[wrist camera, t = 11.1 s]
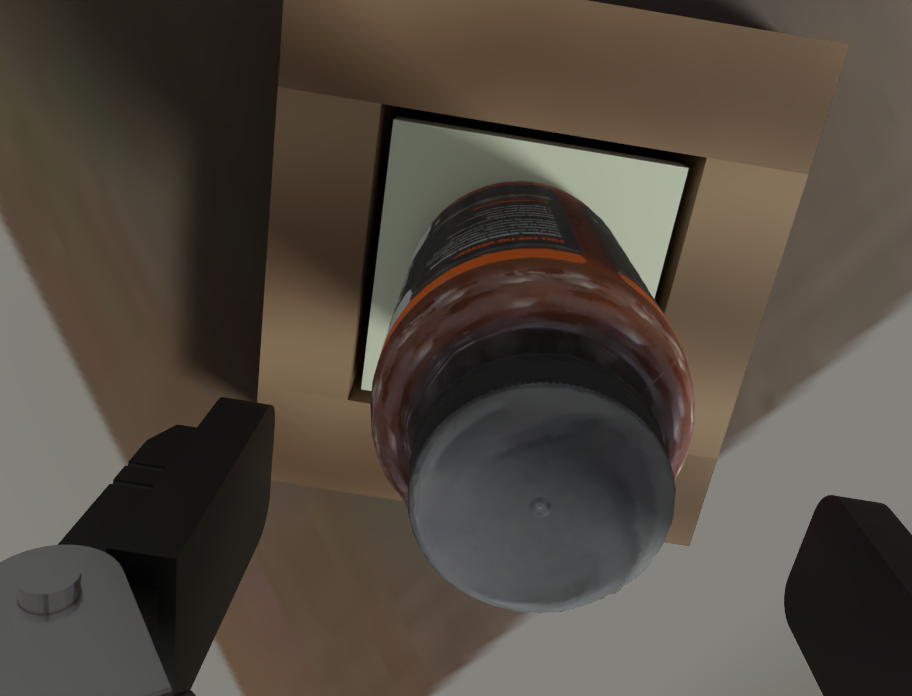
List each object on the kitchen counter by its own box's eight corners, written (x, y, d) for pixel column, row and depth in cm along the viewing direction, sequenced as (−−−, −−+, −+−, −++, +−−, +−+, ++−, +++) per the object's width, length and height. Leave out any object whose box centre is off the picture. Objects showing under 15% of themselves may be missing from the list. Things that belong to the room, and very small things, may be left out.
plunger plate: (397, 116, 21) (393, 119, 20) (680, 162, 21) (688, 167, 20) (366, 376, 24) (361, 389, 23) (614, 415, 24) (619, 430, 23)
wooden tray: (320, -35, 23) (286, -51, 19) (791, 44, 23) (850, 44, 19) (284, 420, 28) (251, 477, 24) (663, 480, 28) (689, 546, 25)
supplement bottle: (366, 269, 22) (250, 477, 11) (533, 129, 20) (579, 219, 10) (499, 417, 23) (506, 722, 13) (664, 297, 22) (827, 534, 11)
